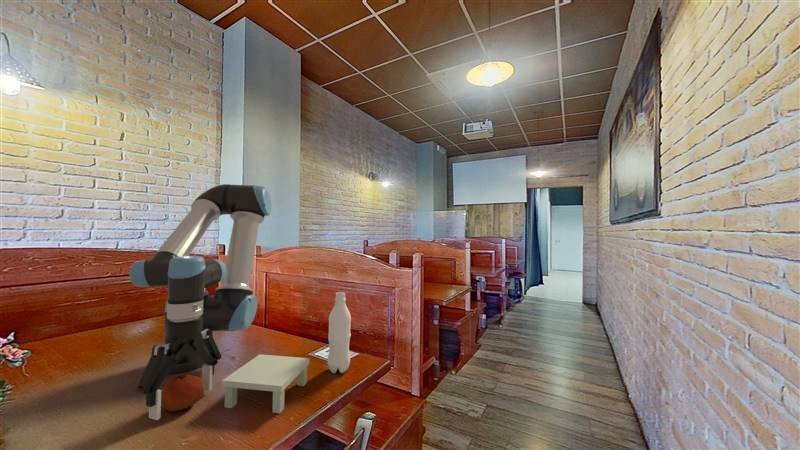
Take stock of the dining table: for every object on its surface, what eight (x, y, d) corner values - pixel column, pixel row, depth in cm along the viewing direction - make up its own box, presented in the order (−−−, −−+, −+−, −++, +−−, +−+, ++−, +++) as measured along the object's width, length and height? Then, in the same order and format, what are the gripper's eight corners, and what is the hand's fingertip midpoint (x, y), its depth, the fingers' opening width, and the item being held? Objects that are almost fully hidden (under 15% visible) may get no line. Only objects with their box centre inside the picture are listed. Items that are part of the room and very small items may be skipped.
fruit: (169, 422, 70) (170, 388, 70) (154, 409, 74) (155, 377, 74) (210, 404, 77) (211, 373, 77) (193, 393, 82) (194, 364, 82)
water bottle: (344, 376, 93) (346, 295, 93) (323, 373, 94) (325, 294, 95) (352, 366, 100) (354, 291, 100) (332, 364, 101) (334, 290, 102)
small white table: (221, 408, 76) (222, 380, 76) (259, 377, 91) (259, 354, 91) (280, 414, 73) (281, 386, 74) (308, 382, 89) (309, 358, 89)
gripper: (141, 335, 63) (137, 438, 63) (236, 307, 87) (234, 381, 86) (117, 331, 65) (113, 430, 65) (216, 304, 89) (214, 377, 89)
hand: (182, 402), depth 76 cm, fingers open, 12 cm apart
